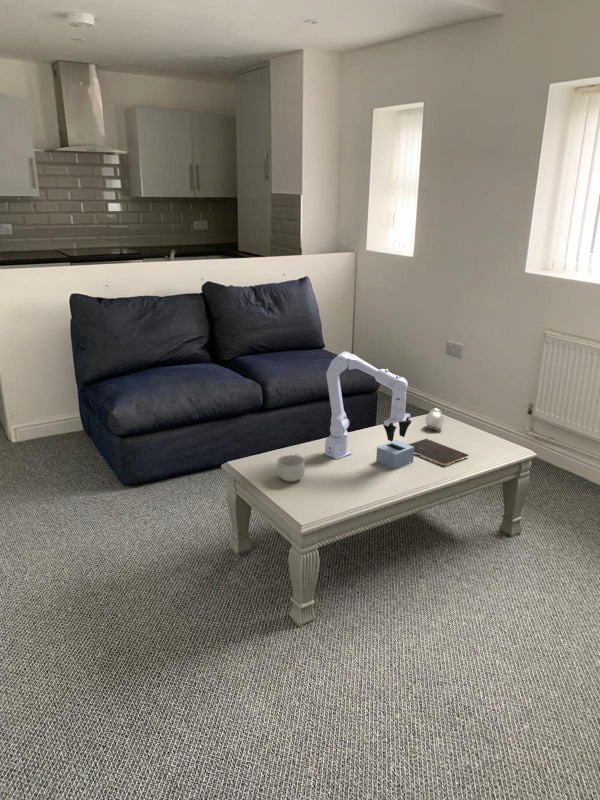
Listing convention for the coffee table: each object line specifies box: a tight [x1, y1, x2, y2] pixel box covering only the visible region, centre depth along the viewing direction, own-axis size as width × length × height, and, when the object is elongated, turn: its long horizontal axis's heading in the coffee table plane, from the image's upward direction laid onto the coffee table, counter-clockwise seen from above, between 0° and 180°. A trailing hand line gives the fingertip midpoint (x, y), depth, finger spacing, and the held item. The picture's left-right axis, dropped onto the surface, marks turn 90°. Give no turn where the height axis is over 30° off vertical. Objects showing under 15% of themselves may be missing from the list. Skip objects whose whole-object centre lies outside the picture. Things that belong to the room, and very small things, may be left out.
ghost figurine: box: [424, 407, 445, 430], centre depth 303 cm, size 9×10×10 cm
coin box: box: [375, 440, 415, 470], centre depth 266 cm, size 12×10×6 cm
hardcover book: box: [408, 438, 469, 467], centre depth 275 cm, size 16×23×2 cm
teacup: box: [276, 453, 306, 483], centre depth 249 cm, size 14×11×8 cm
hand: (396, 438), depth 263 cm, fingers open, 7 cm apart
